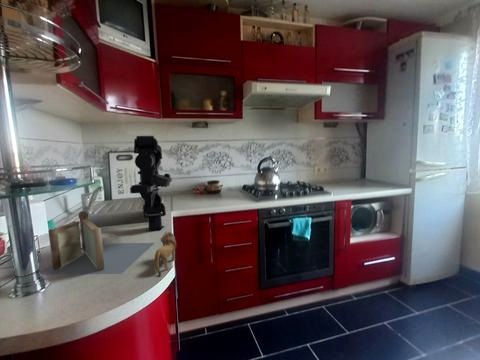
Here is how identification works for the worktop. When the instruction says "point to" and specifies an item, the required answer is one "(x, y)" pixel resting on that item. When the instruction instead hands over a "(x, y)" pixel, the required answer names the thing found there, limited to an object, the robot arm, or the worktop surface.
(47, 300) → the worktop surface
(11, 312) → the worktop surface
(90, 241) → the swinging fence panel
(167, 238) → the lion figurine
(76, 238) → the fixed fence section
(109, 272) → the card
